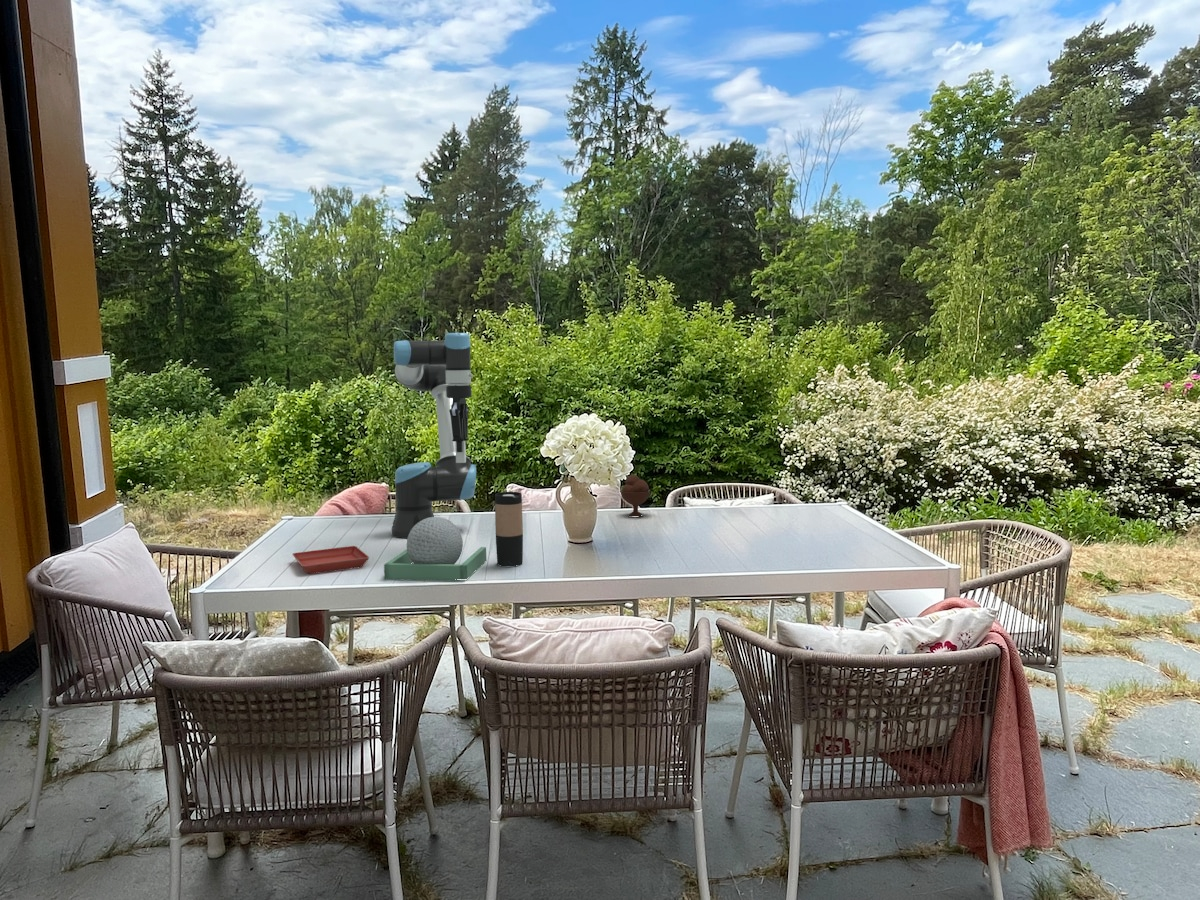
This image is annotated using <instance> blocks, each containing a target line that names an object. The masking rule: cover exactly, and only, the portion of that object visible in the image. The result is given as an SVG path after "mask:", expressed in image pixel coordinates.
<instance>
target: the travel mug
mask: <svg viewBox="0 0 1200 900" xmlns="http://www.w3.org/2000/svg"><path fill="white" fill-rule="evenodd" d="M522 495H523V494H522V493H521V492H518V491H503V492H502V491H501V492H497V493H495V494H494V508H495V509H494V511H495V512H494V513H495V516H494V517H495V525H494V526H495V546H496V547H495V548H496V549H495V550H496V563H497V565H498V564H499V565H501V566H500V567H502V566H514V567H517V566H516V565H519V566H521V565H523V563H524V562H523V561H524V560H523V559H524V558H523V556H524V552H523V551H524V523H523V496H522ZM499 565H498V566H499Z"/></svg>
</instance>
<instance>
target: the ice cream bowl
mask: <svg viewBox="0 0 1200 900" xmlns="http://www.w3.org/2000/svg"><path fill="white" fill-rule="evenodd" d="M624 483H625V485H623V487H622V489H621V490H620V495H621V498H622V499H623V500H624V501H625V502H626V503H627V504H630V505H631V506H632V508H633V509H632V512H630V513H629V514H628V515H629V516H641V515H642V512H639V506H640V505H642V504H643V503H645V502H646V501H647V500H648V498H649V497H650V494H651V489H650V488H649V487H650V486H649V485H648V483H647V482H646V481H645V480H644V479H641V478H640V477H639V476H638V475H636V474H632V475H628V476H627V478H626V479H625V481H624ZM629 516H628V517H629Z"/></svg>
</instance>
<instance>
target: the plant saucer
mask: <svg viewBox="0 0 1200 900" xmlns="http://www.w3.org/2000/svg"><path fill="white" fill-rule="evenodd" d="M291 555H292V556H293V557H294V559H295V560H296V561H297V562H298V564H299V565H300V566H301V567H302V569H303V571H305V572H306V573H307V574H308V575H311V574H314V575H315V574H319V573H328V572H335V570H336V571H342V570H343V569H344V570H350V568H352V569H358V567H359V568H362V567H364V565H365V564H366V563H367V562H368V560H369V559H370V557H369V555H368V554H366V553H365V552H364V551H362V550H361V549H360V548H359V547H358V546H357V545H350V546H343V547H335V548H333V547H331V548H327V549H326V548H325V549H324V548H323V549H317V550H309V551H308V550H307V551H301V552H294V553H292V554H291ZM344 570H343V571H344Z"/></svg>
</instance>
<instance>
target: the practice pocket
mask: <svg viewBox="0 0 1200 900" xmlns="http://www.w3.org/2000/svg"><path fill="white" fill-rule="evenodd" d="M485 561H486V562H487V547H486V546H480V547H479V548H478V549H477V550H476V551H475V552H474V553H473V554H472V555H471V556H469V557H468V558H467V559H466V560H465V561H463V562H462V563H461V564H458V563H457V564H456V563H455V564H414V563H412V561H411V559H410V557H409V555H408V552H407V548H406V549H405V550H403V551H402V552H400V553H399V554H397V555H396V556H394V557H393V558H392V559H390V560H389V561H387V562H386V563H384V564H383V572H384V580H394V579H412V580H411V581H440V580H455V579H456V580H457V579H467V578H468V577H469V576H470V575H471V574H472V573H473V572H474V571H475V570H477V568H479V567H480V566H481V565H482V564H483V563H484V562H485ZM486 562H485V563H486ZM411 563H412V564H411ZM485 563H484V564H485ZM484 564H483V565H484ZM483 565H482V566H483ZM482 566H481V567H482ZM481 567H480V568H481ZM480 568H479V569H480ZM477 571H478V570H477ZM474 573H475V572H474ZM474 573H473V574H474ZM473 574H472V575H473ZM472 575H471V576H472ZM471 576H470V577H471ZM470 577H469V578H470ZM469 578H468V579H469ZM468 579H467V580H468Z"/></svg>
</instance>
